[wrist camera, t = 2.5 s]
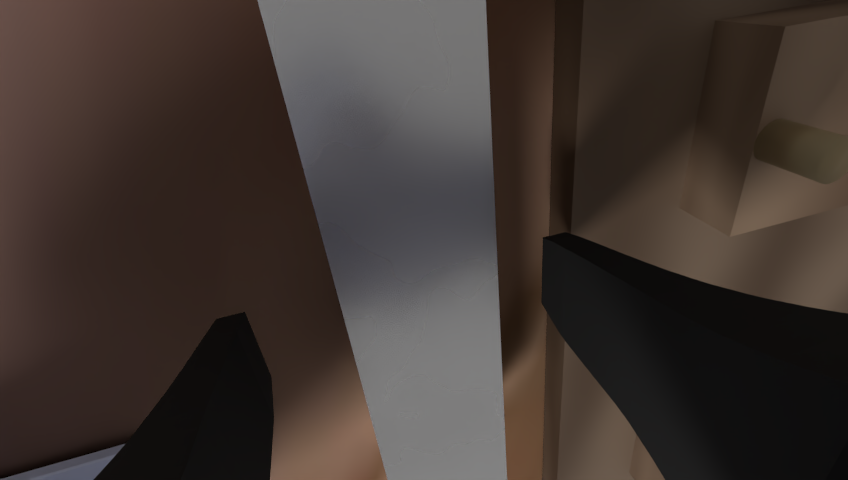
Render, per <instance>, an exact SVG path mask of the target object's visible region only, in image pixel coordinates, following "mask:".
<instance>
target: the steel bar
mask: <svg viewBox="0 0 848 480" xmlns="http://www.w3.org/2000/svg"><path fill="white" fill-rule="evenodd" d="M257 1H258V4H259V8H260V12H261V15H262V19H263V23H264V26H265V30H266V34H267V37H268V41H269V45H270V48H271V52H272V56H273V60H274V63H275V67H276V71H277V74H278V78H279V82H280V85H281V89H282V93H283V96H284V100H285V104H286V107H287V111H288V115H289V118H290V122H291V126H292V129H293V133H294V137H295V140H296V144H297V148H298V151H299V155H300V159H301V163H302V166H303V170H304V174H305V177H306V181H307V185H308V188H309V192H310V196H311V199H312V203H313V207H314V210H315V214H316V218H317V221H318V225H319V229H320V232H321V236H322V240H323V243H324V247H325V251H326V255H327V258H328V262H329V266H330V269H331V273H332V277H333V280H334V284H335V288H336V291H337V295H338V299H339V302H340V306H341V310H342V313H343V317H344V321H345V324H346V328H347V332H348V335H349V339H350V343H351V346H352V350H353V354H354V358H355V361H356V365H357V369H358V372H359V376H360V380H361V383H362V387H363V391H364V394H365V398H366V402H367V405H368V409H369V413H370V416H371V420H372V424H373V427H374V431H375V435H376V438H377V442H378V446H379V449H380V453H381V457H382V461H383V464H384V468H385V472H386V475H387V479H388V480H507V469H506V446H505V424H504V401H503V378H502V356H501V333H500V310H499V288H498V265H497V242H496V220H495V197H494V174H493V152H492V129H491V107H490V84H489V61H488V39H487V16H486V0H257Z"/></svg>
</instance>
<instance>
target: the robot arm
mask: <svg viewBox="0 0 848 480" xmlns="http://www.w3.org/2000/svg"><path fill="white" fill-rule="evenodd" d="M542 304H543V306H544V308H545V309H546V311H547V313H548V315H549V317H550V318H551V320H552V322H553V323H554V325H555V327H556V328H557V330H558V332H559V333H560V335H561V336H562V337H563V339H564V340H565V341H566V343H567V344H568V345H569V347H570V348H571V349H572V350H573V352H574V353H575V354H576V355H577V357H578V358H579V359H580V361H581V362H582V363H583V364H584V366H585V367H586V368H587V369H588V371H589V372H590V373H591V374H592V376H593V377H594V378H595V379H596V380H597V382H598V383H599V384H600V385H601V387H602V388H603V389H604V390H605V392H606V393H607V394H608V395H609V397H610V398H611V399H612V400H613V402H614V403H615V404H616V406H617V407H618V408H619V410H620V411H621V412H622V414H623V415H624V416H625V418H626V419H627V421H628V422H629V423H630V425H631V427H632V428H633V430H634V431H635V433H636V434H637V436H638V437H639V439H640V441H641V442H642V444H643V445H644V447H645V448H646V450H647V451H648V453H649V454H650V456H651V458H652V459H653V461H654V462H655V464H656V466H657V467H658V469H659V471H660V472H661V474H662V476H663V477H664V479H665V480H848V313H841V312H835V311H829V310H823V309H817V308H812V307H806V306H801V305H796V304H791V303H786V302H781V301H776V300H771V299H767V298H763V297H758V296H754V295H750V294H746V293H742V292H738V291H735V290H731V289H727V288H723V287H719V286H716V285H712V284H709V283H705V282H702V281H699V280H696V279H693V278H690V277H687V276H684V275H680V274H677V273H674V272H671V271H668V270H666V269H663V268H660V267H657V266H655V265H652V264H649V263H646V262H644V261H641V260H638V259H636V258H633V257H631V256H628V255H626V254H623V253H620V252H618V251H615V250H613V249H610V248H608V247H605V246H603V245H600V244H598V243H595V242H593V241H590V240H587V239H585V238H582V237H579V236H576V235H574V234H570V233H567V232H564V233H559V234H555V235H551V236H547V237H543V259H542ZM273 424H274V412H273V394H272V380H271V375H270V373H269V370H268V368H267V365H266V363H265V360H264V358H263V355H262V353H261V350H260V348H259V346H258V343H257V341H256V338H255V336H254V333H253V331H252V328H251V326H250V323H249V321H248V319H247V316H246V314H245V312H243V313H239V314H235V315H231V316H227V317H223V318H219V319H216V320H215V322H214V323H213V325H212V326H211V328H210V329H209V331H208V332H207V333H206V335H205V336H204V338H203V339H202V341H201V342H200V344H199V345H198V347H197V348H196V350H195V351H194V353H193V354H192V356H191V357H190V359H189V360H188V362H187V363H186V364H185V366H184V367H183V369H182V370H181V372H180V373H179V374H178V376H177V377H176V379H175V380H174V382H173V383H172V384H171V386H170V387H169V389H168V390H167V391H166V393H165V394H164V396H163V397H162V398H161V399H160V401H159V402H158V403H157V405H156V406H155V407H154V408H153V410H152V411H151V412H150V414H149V415H148V416H147V417H146V419H145V420H144V421H143V423H142V424H141V425H140V427H139V428H138V429H137V430H136V432H135V433H134V434H133V435H132V437H131V438H130V439H129V440H128V441H127V443H126V444H122V445H119V446H115V447H112V448H108V449H105V450H101V451H98V452H94V453H91V454H87V455H83V456H80V457H76V458H73V459H69V460H66V461H62V462H59V463H55V464H52V465H48V466H45V467H41V468H38V469H34V470H31V471H27V472H24V473H20V474H17V475H13V476H9V477H6V478H2V479H0V480H270V469H271V455H272V440H273Z"/></svg>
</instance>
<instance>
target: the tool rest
mask: <svg viewBox="0 0 848 480" xmlns="http://www.w3.org/2000/svg"><path fill="white" fill-rule="evenodd" d="M564 232H567V233H570V234H574V235H576V236H579V237H582V238H585V239H587V240H590V241H593V242H595V243H598V244H600V245H603V246H605V247H608V248H610V249H613V250H615V251H618V252H620V253H623V254H626V255H628V256H631V257H633V258H636V259H638V260H641V261H644V262H646V263H649V264H652V265H655V266H657V267H660V268H663V269H666V270H668V271H671V272H674V273H677V274H680V275H684V276H687V277H690V278H693V279H696V280H699V281H702V282H705V283H709V284H712V285H716V286H719V287H723V288H727V289H731V290H735V291H738V292H742V293H746V294H750V295H754V296H758V297H763V298H767V299H771V300H776V301H781V302H786V303H791V304H796V305H801V306H806V307H812V308H817V309H823V310H829V311H835V312H841V313H848V0H556V12H555V48H554V83H553V119H552V154H551V190H550V226H549V236H551V235H555V234H559V233H564ZM542 480H665V479H664V477H663V476H662V474H661V472H660V471H659V469H658V467H657V466H656V464H655V462H654V461H653V459H652V458H651V456H650V454H649V453H648V451H647V450H646V448H645V447H644V445H643V444H642V442H641V441H640V439H639V437H638V436H637V434H636V433H635V431H634V430H633V428H632V427H631V425H630V423H629V422H628V421H627V419H626V418H625V416H624V415H623V414H622V412H621V411H620V410H619V408H618V407H617V406H616V404H615V403H614V402H613V400H612V399H611V398H610V397H609V395H608V394H607V393H606V392H605V390H604V389H603V388H602V387H601V385H600V384H599V383H598V382H597V380H596V379H595V378H594V377H593V376H592V374H591V373H590V372H589V371H588V369H587V368H586V367H585V366H584V364H583V363H582V362H581V361H580V359H579V358H578V357H577V355H576V354H575V353H574V352H573V350H572V349H571V348H570V347H569V345H568V344H567V343H566V341H565V340H564V339H563V337H562V336H561V335H560V333H559V332H558V330H557V328H556V327H555V325H554V323H553V322H552V320H551V318H550V317H549V315H548V313H547V332H546V368H545V403H544V439H543V474H542Z"/></svg>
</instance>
